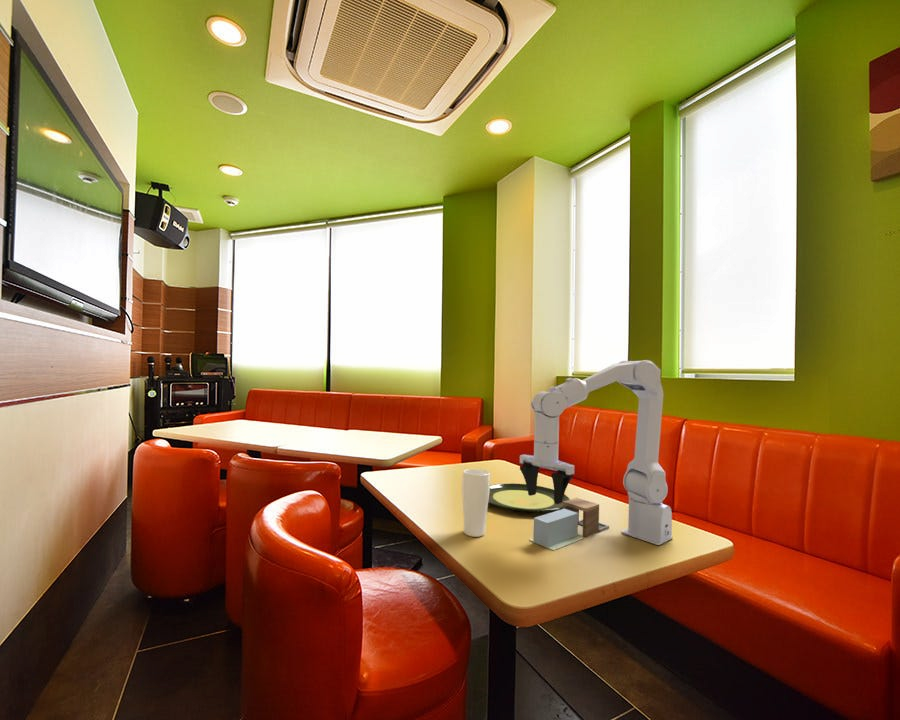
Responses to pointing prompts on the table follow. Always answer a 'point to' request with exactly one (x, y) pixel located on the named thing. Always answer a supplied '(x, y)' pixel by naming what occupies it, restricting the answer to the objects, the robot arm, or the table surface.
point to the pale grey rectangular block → (555, 527)
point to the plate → (509, 492)
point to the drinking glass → (475, 501)
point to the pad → (562, 543)
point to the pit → (601, 526)
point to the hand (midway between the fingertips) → (544, 498)
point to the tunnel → (585, 514)
